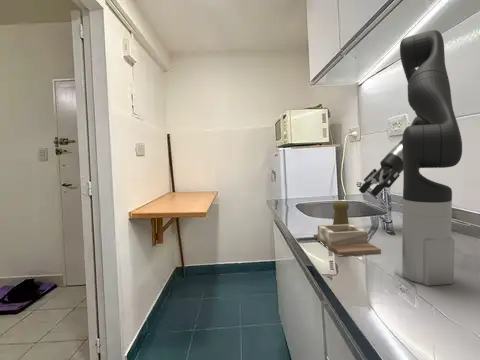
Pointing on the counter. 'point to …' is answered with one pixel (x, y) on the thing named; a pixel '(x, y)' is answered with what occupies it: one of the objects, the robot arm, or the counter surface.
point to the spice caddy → (346, 240)
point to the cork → (340, 213)
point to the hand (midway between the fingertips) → (366, 193)
